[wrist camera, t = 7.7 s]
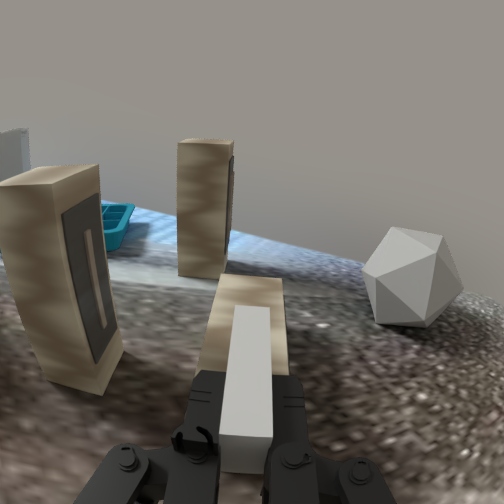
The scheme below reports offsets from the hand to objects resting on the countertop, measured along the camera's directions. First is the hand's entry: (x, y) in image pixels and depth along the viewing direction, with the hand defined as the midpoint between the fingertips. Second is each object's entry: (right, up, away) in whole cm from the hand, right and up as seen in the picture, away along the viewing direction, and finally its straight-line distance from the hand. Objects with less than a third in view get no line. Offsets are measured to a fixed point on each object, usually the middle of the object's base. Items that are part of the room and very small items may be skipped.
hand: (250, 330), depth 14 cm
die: (+14, -3, +13) cm, 19 cm away
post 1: (-11, -4, +4) cm, 13 cm away
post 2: (-5, +2, +19) cm, 20 cm away
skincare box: (-42, +10, +30) cm, 52 cm away
